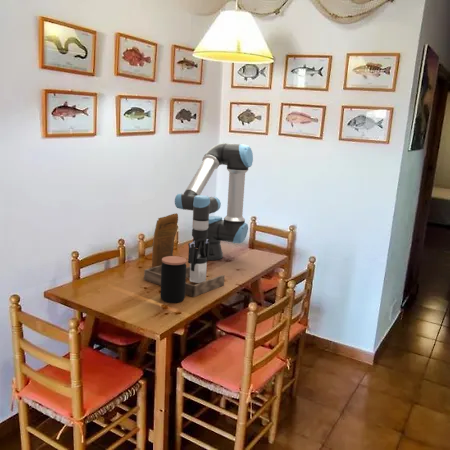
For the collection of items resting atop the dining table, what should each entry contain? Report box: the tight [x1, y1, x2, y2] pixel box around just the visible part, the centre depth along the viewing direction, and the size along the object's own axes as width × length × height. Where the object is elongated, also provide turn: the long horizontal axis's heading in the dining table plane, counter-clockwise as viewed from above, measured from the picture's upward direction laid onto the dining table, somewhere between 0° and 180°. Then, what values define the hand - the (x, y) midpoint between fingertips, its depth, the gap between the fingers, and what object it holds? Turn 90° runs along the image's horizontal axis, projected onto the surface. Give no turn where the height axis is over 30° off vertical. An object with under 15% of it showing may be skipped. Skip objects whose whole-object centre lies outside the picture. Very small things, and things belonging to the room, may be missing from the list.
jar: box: [188, 254, 208, 284], centre depth 222 cm, size 9×8×12 cm
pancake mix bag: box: [151, 213, 179, 268], centre depth 244 cm, size 7×19×28 cm, turn 144°
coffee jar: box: [160, 255, 188, 304], centre depth 200 cm, size 11×11×18 cm
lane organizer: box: [143, 265, 225, 298], centre depth 224 cm, size 22×32×5 cm
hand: (197, 275), depth 223 cm, fingers closed on jar, 5 cm apart
